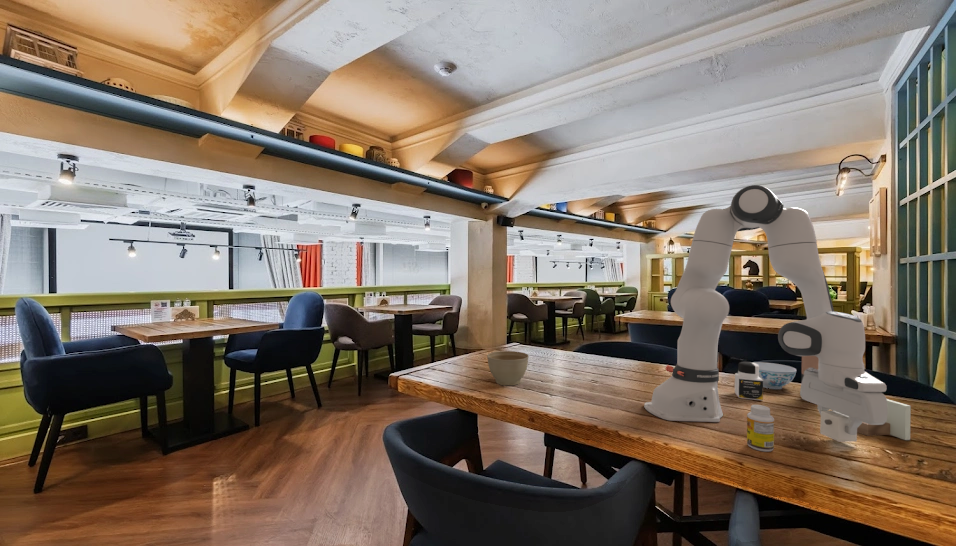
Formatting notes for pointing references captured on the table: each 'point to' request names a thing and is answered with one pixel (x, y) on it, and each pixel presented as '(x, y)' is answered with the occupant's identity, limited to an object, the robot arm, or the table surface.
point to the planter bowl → (507, 366)
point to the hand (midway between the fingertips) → (838, 428)
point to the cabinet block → (835, 426)
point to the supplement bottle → (760, 428)
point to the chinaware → (775, 375)
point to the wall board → (899, 419)
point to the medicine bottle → (748, 381)
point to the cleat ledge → (873, 429)
